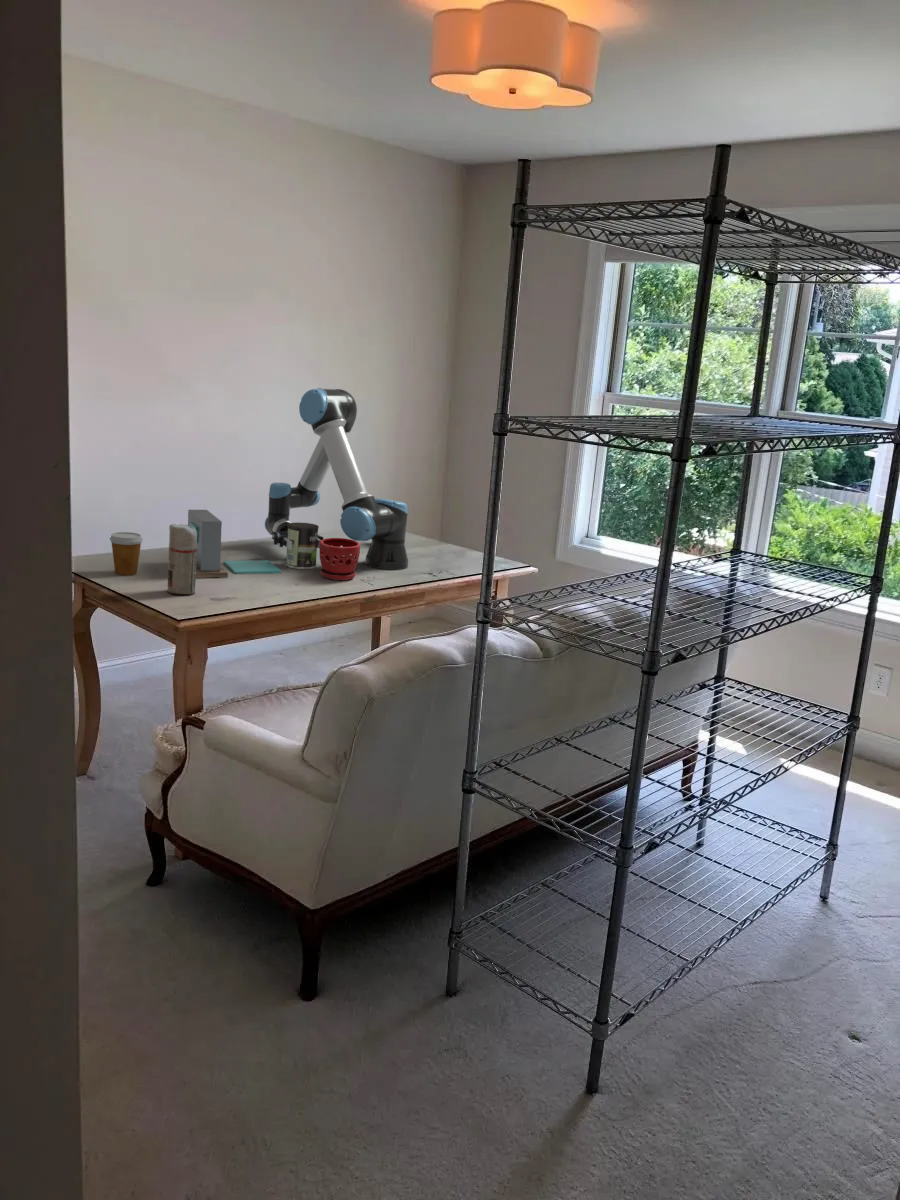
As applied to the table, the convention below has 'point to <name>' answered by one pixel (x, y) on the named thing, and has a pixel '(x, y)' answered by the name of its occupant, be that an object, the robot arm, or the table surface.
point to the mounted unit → (207, 543)
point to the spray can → (182, 559)
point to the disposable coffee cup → (126, 552)
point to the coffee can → (302, 545)
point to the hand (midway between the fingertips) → (306, 545)
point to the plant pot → (339, 558)
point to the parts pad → (252, 566)
